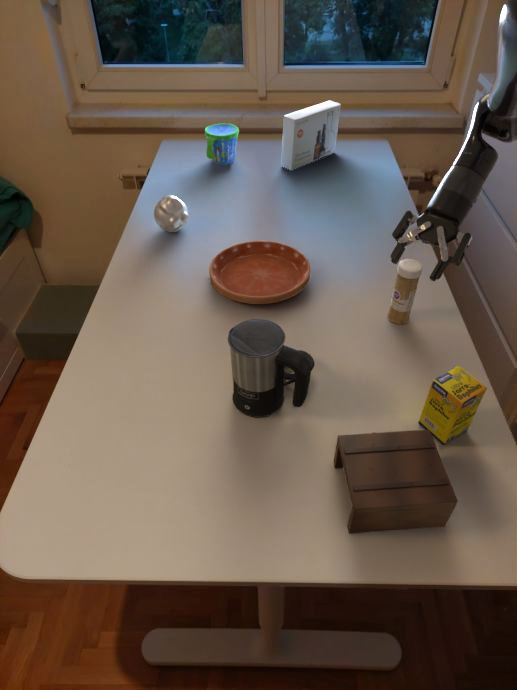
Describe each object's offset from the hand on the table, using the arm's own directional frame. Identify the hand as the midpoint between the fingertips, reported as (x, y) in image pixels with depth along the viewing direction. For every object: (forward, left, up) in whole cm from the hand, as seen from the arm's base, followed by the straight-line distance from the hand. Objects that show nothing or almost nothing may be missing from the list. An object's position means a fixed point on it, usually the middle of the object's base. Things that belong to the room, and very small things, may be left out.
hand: (412, 271), depth 99 cm
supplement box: (+1, +30, -11) cm, 32 cm away
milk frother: (+29, +18, -11) cm, 36 cm away
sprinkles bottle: (+1, +1, -11) cm, 11 cm away
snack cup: (+36, -82, -11) cm, 90 cm away
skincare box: (+8, -80, -11) cm, 81 cm away
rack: (+14, +41, -11) cm, 45 cm away
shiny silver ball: (+50, -39, -11) cm, 64 cm away
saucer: (+29, -15, -11) cm, 35 cm away
